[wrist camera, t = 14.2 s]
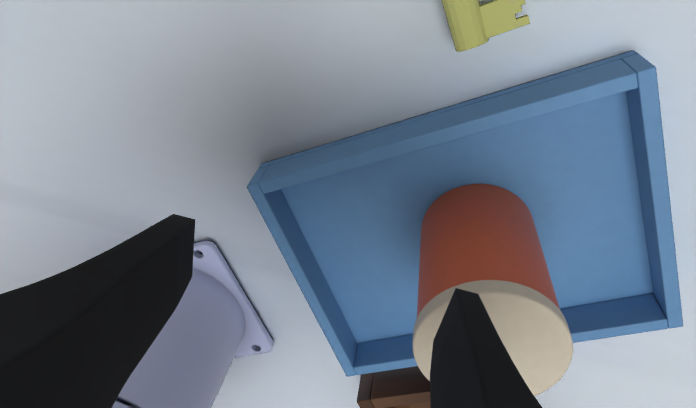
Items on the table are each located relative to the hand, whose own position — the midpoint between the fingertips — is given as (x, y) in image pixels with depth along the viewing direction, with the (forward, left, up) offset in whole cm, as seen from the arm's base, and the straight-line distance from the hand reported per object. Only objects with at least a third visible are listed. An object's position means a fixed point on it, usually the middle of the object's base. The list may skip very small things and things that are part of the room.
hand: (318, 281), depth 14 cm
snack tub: (+3, -6, -10) cm, 12 cm away
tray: (+3, -6, -10) cm, 12 cm away
